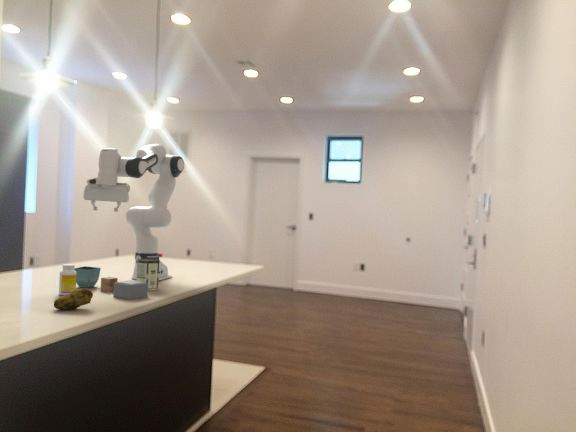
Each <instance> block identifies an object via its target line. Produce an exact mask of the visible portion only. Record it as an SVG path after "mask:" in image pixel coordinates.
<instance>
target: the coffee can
mask: <svg viewBox="0 0 576 432" xmlns="http://www.w3.org/2000/svg"><path fill="white" fill-rule="evenodd" d="M137 261H138V264H137V280H136V281H140V282H145V283H148V292H149V291H150V292H152V291H157V290H159V280H158V279H159V262H160V261H161V259H159V260H158V259H138V260H137Z"/></svg>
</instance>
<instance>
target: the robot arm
mask: <svg viewBox="0 0 576 432" xmlns="http://www.w3.org/2000/svg"><path fill="white" fill-rule="evenodd" d="M184 168H185V161H184V159H183V158H182V156H180V155H175V154H174V155H173V154H167V149H166V148H165V146H164V145H163V144H160V143H150V144H147V145H144V146H142V147H140V148H139V149H138V150H137V152H136V157H135V156H133V157H127V156H126V157H125V156H122V155H120V153H119V151H118V149H117V148H115V147H114V148H113V147H111V148H109V147H107V148H106V147H105V148H102V149H101V150H100V153H99V157H98V173H97V177H94V178H90V179H89V178H88V179H87V180H86V184H87V185H85V187H84V191H83V199H84V200H85V201H90V203H91V205H92V207H93V208H92V211H98V206H96V202H97V201H98V202H111V203H112V202H113V203H116V205H117V206H116V207H114V208H113V211H114V212H115V213H117V212H119V208H120V207H121V204H122V203H128V202H129V201H130V196H129V195H130V194H129V192H130V191H131V190H130V189H131V186H130V184H128V183H126V182H118V177H119V178H134V179H140V178H141V177H142V176H143V175H145V173H146V172H149V173H150V174H153V175H156V174H157V175H159V176H158V179H157V180H156V181H155V183H154V185H153V186H152V188H151V190H150V192H149V193H148V199H147V200H148V201H149V203H150V204H151V205H150V206H141V205H138V206H137V205H136V206H132V207H130V208H128V209H127V211H126V213H125V218H126V221H127V223H128V224H129V225H130V226H131V228H133V231H134V234H135V237H136V238H135V239H136V240H135V241H136V249H135V251H136V252H135V254H134V259H135V262H134V266H133V271H132V275H131V280H135V281H137V264H138V261H137V260H138V259H158V260H160V258H163V256H164V254H163V253H160V252H159V253H158V246H159V240H158V237H157V235H155V234H154V233H153V232H152V229H151V228H156V229H157V228H158V229H159V228H166V227H168V226H169V225H170V224H171V221H172V213H171V212H170V210H169V209H168V204H169V201H170V199H171V197H172V195H173V192H174V190H175V187H176V184H177V180H176V178H178V177H179V176H180V175H181V174H182V172H183V171H184ZM168 270H169V269H168V266H167V265H166V264H165V263H164V262H162V260H160V262H159V279H158V281H163V280H166V279H170V278H173V275H171V274H169V271H168Z"/></svg>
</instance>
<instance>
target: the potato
mask: <svg viewBox="0 0 576 432" xmlns="http://www.w3.org/2000/svg"><path fill="white" fill-rule="evenodd" d="M93 296H94V293H93V291H92V290H90V289H89V288H87V287H80V288H76V290H75V291H73V292H71V293H70V294H68V295H61V296H60V297H58V298H56V299H55V300H54V302H53V307H54V309H56V310H60V311H61V310H63V311H64V310H67V311H68V310H75V309H78V308H80V307H82V306H86V305H88V304H91V301H92V298H93Z"/></svg>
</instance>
